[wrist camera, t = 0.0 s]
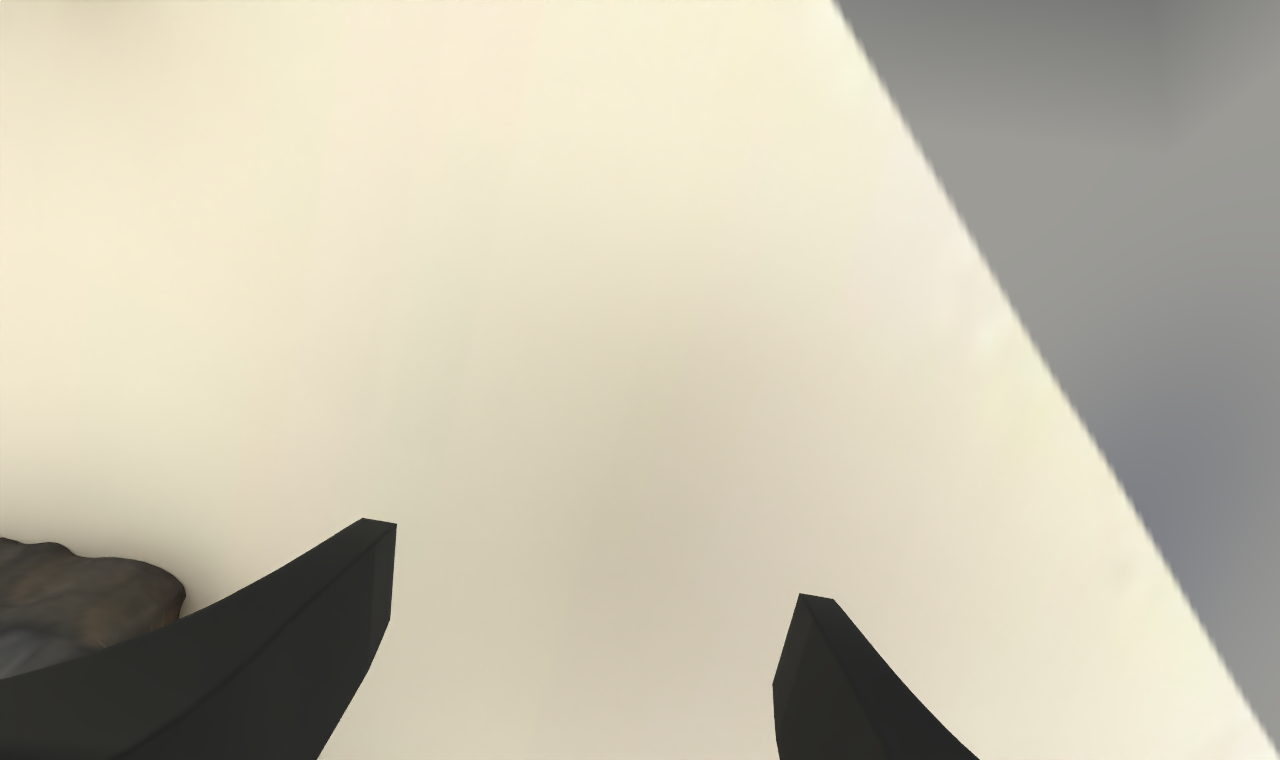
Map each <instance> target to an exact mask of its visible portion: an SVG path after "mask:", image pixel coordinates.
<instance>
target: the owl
mask: <svg viewBox="0 0 1280 760" xmlns="http://www.w3.org/2000/svg"><path fill="white" fill-rule="evenodd" d="M185 596H186V595H185V591H184V587H183V586H182V585H181V583H180V582H179V581H178V580H177V579H176V578H175V577H174V576H172V575H171V574H169V573H167V572H166V571H164V570H162V569H160V568H157V567H154V566H152V565H149V564H147V563H144V562H139V561H134V560H127V559H120V558H96V559H91V558H84V557H77V556H75V555H73V554H72V553H71V552H70V551H69V550H68V549H67V548H65V547H63V546H61V545H59V544H58V543H50V542H48V543H39V544H29V545H25V544H21V543H18V542H16V541H13V540H9V539H5V538H0V679H4V678H8V677H12V676H16V675H19V674H23V673H26V672H30V671H34V670H37V669H41V668H45V667H48V666H51V665H54V664H58V663H61V662H64V661H68V660H71V659H74V658H77V657H81V656H84V655H87V654H90V653H92V652H95V651H98V650H101V649H103V648H106V647H109V646H112V645H115V644H117V643H120V642H123V641H126V640H128V639H131V638H134V637H137V636H139V635H142V634H145V633H148V632H150V631H153V630H155V629H158V628H160V627H163V626H165V625H167V624H170V623H172V622H174V621H177V620H178V616H179V611H180V607H181V604H182V602H183V601H184V599H185Z"/></svg>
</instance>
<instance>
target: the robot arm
mask: <svg viewBox="0 0 1280 760" xmlns="http://www.w3.org/2000/svg"><path fill="white" fill-rule="evenodd" d="M396 529H397V524H395V523H389V522H384V521H378V520H372V519H366V518H362V519H360V520H358V521H356V522H355V523H353V524H351V525H350V526H348V527H346V528H345V529H343V530H342V531H340V532H338V533H337V534H335V535H334V536H332V537H330V538H329V539H327V540H326V541H324V542H322V543H321V544H319V545H318V546H316V547H314V548H313V549H311V550H309V551H308V552H306V553H304V554H303V555H301V556H299V557H298V558H296V559H294V560H293V561H291V562H289V563H288V564H286V565H284V566H283V567H281V568H279V569H278V570H276V571H274V572H273V573H271V574H269V575H267V576H265V577H263V578H261V579H260V580H258V581H256V582H254V583H252V584H250V585H248V586H246V587H245V588H243V589H241V590H239V591H237V592H235V593H233V594H232V595H230V596H228V597H226V598H224V599H222V600H220V601H218V602H216V603H214V604H212V605H210V606H208V607H206V608H203V609H201V610H199V611H197V612H195V613H193V614H190V615H188V616H186V617H184V618H181V619H179V620H177V621H174V622H172V623H170V624H167V625H165V626H163V627H160V628H158V629H155V630H153V631H150V632H148V633H145V634H142V635H139V636H137V637H134V638H131V639H128V640H126V641H123V642H120V643H117V644H115V645H112V646H109V647H106V648H103V649H101V650H98V651H95V652H92V653H90V654H87V655H84V656H81V657H77V658H74V659H71V660H68V661H64V662H61V663H58V664H54V665H51V666H48V667H45V668H41V669H37V670H34V671H30V672H26V673H23V674H19V675H16V676H12V677H8V678H4V679H0V760H317V758H318V757H319V755H320V753H321V751H322V750H323V748H324V746H325V745H326V743H327V741H328V739H329V738H330V736H331V734H332V733H333V731H334V729H335V728H336V726H337V724H338V722H339V721H340V719H341V717H342V716H343V714H344V712H345V710H346V709H347V707H348V705H349V704H350V702H351V700H352V698H353V697H354V695H355V693H356V691H357V690H358V688H359V686H360V684H361V683H362V681H363V679H364V677H365V676H366V674H367V672H368V670H369V668H370V666H371V663H372V661H373V659H374V657H375V654H376V652H377V650H378V647H379V645H380V643H381V640H382V638H383V635H384V633H385V630H386V628H387V626H388V623H389V621H390V614H391V600H392V586H393V572H394V557H395V543H396ZM773 702H774V718H775V731H776V741H777V747H778V752H779V758H780V760H979V759H978V758H977V757H976V756H975V755H974V754H973V753H972V752H971V751H969V750H968V749H967V748H966V747H965V746H964V745H963V744H962V743H961V742H960V741H959V740H958V739H957V738H956V737H955V736H953V735H952V734H951V733H950V732H949V731H948V730H947V729H946V728H945V727H944V726H943V725H942V724H941V723H940V722H939V720H938V719H937V718H936V717H935V716H934V715H933V714H932V713H931V712H930V711H929V710H928V709H927V708H926V707H925V706H924V705H923V704H922V703H921V702H920V701H919V700H918V698H917V697H916V696H915V695H914V694H913V693H912V692H911V691H910V690H909V688H908V687H907V686H906V685H905V684H904V683H903V682H902V681H901V679H900V678H899V677H898V676H897V675H896V674H895V673H894V671H893V670H892V669H891V668H890V667H889V666H888V664H887V663H886V662H885V661H884V660H883V658H882V657H881V656H880V655H879V654H878V652H877V651H876V650H875V649H874V648H873V646H872V645H871V644H870V643H869V641H868V640H867V639H866V638H865V637H864V635H863V634H862V633H861V632H860V630H859V629H858V628H857V627H856V625H855V624H854V623H853V622H852V621H851V619H850V618H849V617H848V616H847V614H846V613H845V612H844V611H843V610H842V608H841V607H840V606H839V605H838V604H837V603H836V602H835V600H834V599H830V598H824V597H819V596H813V595H807V594H801V593H799V597H798V600H797V603H796V607H795V610H794V613H793V617H792V620H791V624H790V627H789V630H788V634H787V637H786V640H785V644H784V647H783V651H782V654H781V657H780V661H779V664H778V667H777V671H776V674H775V677H774V681H773Z"/></svg>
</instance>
